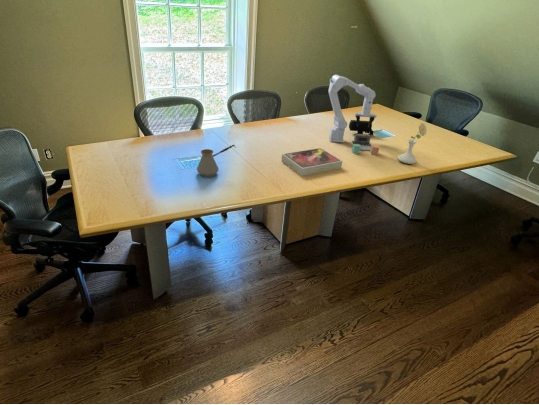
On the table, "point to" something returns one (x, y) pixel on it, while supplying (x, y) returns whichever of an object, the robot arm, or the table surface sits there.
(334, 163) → the product packaging
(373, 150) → the salmon pink block
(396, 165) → the table surface
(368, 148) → the pad
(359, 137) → the block
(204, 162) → the coffee pot
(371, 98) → the robot arm
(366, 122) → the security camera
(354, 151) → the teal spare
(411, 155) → the flower in vase
